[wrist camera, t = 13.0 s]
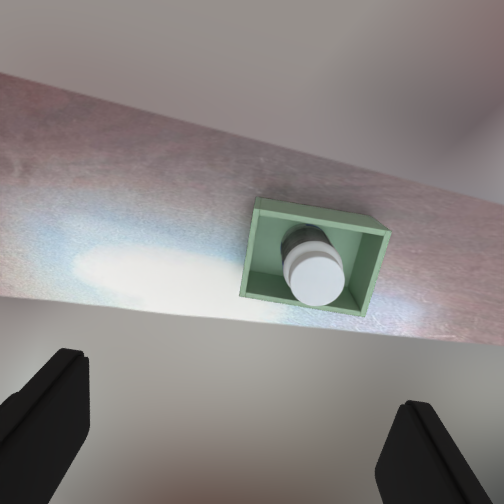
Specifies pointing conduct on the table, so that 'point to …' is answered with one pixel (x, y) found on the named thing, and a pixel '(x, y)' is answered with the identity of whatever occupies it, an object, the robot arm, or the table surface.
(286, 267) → the pill bottle
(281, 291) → the bin
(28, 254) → the table surface
